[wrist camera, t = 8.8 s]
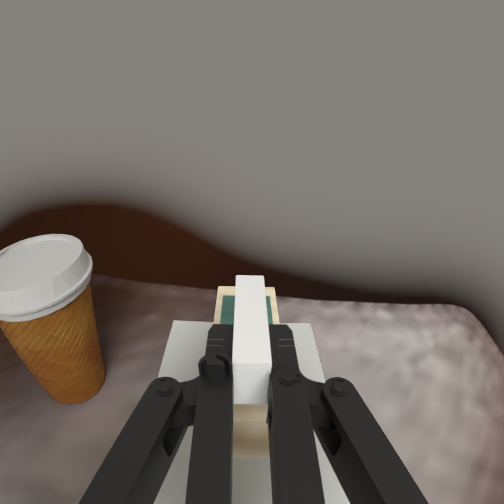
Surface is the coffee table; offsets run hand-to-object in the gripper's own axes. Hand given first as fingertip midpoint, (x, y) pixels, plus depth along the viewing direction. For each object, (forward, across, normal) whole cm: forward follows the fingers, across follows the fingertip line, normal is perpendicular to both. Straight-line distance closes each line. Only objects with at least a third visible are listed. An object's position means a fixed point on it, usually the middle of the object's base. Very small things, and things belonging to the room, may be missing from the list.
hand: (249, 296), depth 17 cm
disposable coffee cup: (+1, -15, -11) cm, 19 cm away
